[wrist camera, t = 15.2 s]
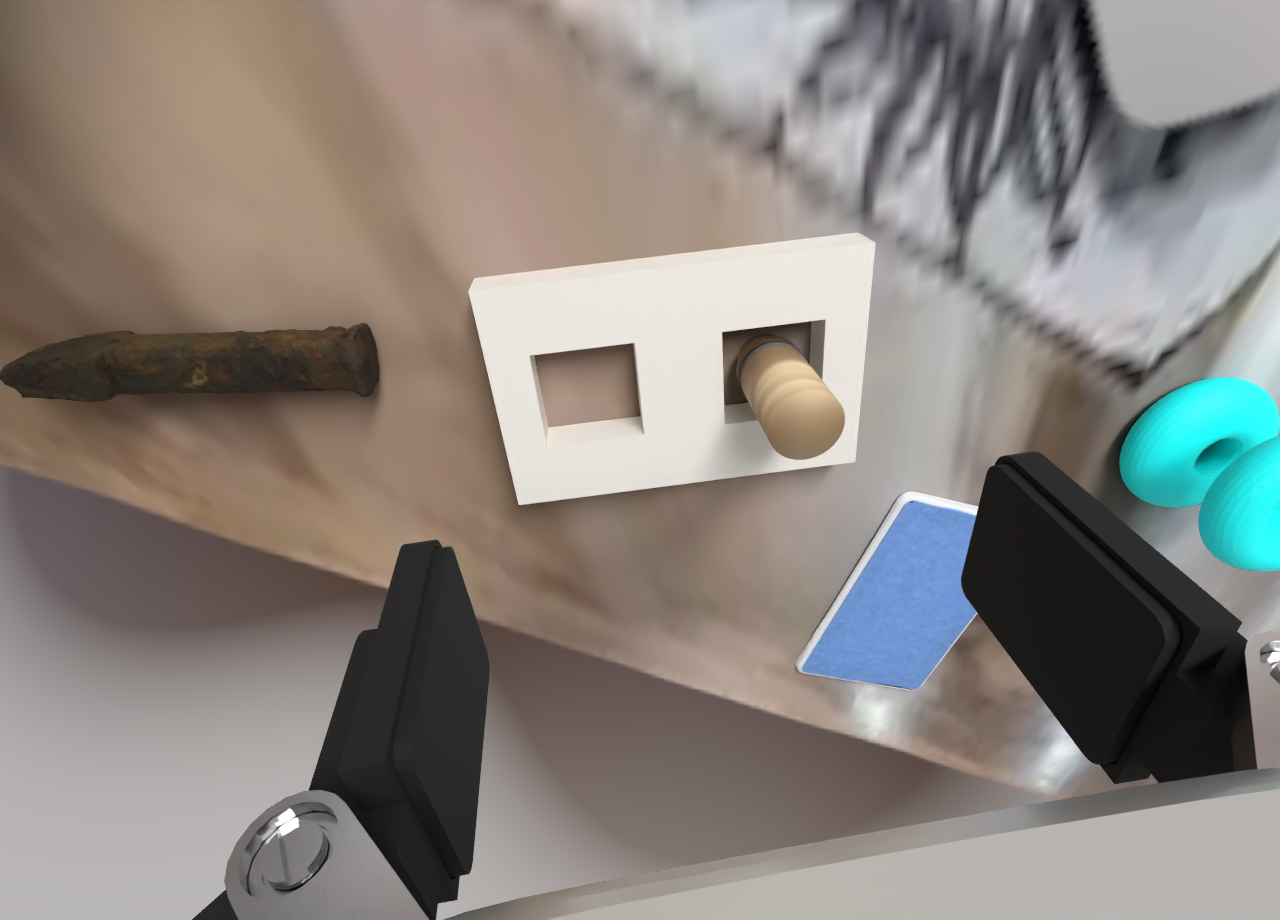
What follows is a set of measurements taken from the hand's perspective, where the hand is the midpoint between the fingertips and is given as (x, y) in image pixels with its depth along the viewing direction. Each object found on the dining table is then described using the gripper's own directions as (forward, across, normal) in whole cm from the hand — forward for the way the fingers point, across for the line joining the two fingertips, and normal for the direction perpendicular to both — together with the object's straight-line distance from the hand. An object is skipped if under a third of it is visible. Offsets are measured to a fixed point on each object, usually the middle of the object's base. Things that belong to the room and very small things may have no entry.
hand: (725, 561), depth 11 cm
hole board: (+28, -3, +10) cm, 30 cm away
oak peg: (+28, -9, +10) cm, 31 cm away
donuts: (+27, -39, +20) cm, 52 cm away
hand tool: (+30, +23, +6) cm, 38 cm away
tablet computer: (+28, -21, +33) cm, 48 cm away
